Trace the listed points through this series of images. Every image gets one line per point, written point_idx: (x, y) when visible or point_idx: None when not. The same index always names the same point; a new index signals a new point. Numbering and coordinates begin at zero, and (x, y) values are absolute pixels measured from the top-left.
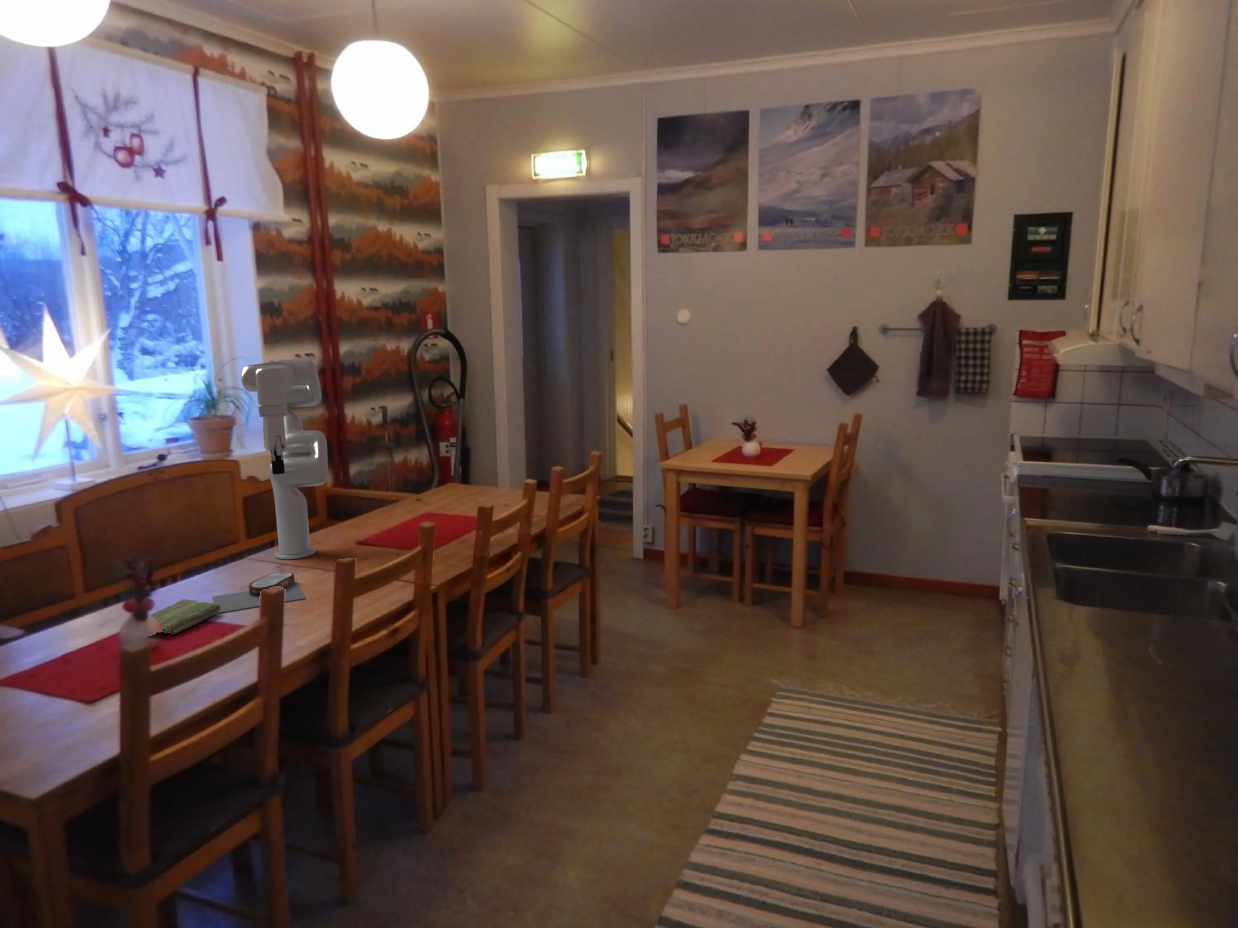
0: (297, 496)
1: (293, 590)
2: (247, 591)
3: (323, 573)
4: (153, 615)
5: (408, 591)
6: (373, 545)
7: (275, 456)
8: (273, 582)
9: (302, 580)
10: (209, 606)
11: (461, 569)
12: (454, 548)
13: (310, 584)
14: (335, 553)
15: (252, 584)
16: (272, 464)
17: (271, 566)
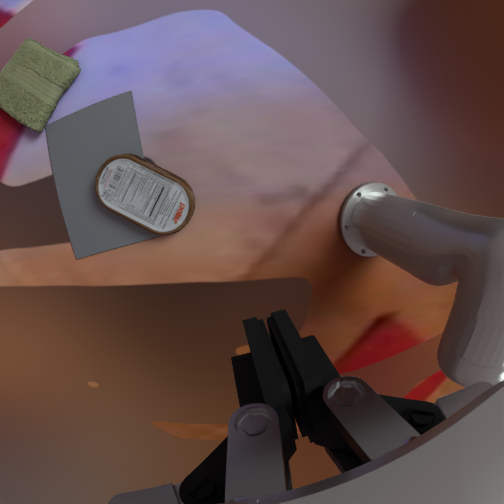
0: (433, 276)
1: (118, 234)
2: (138, 148)
3: (219, 279)
4: (27, 53)
5: (97, 386)
6: (359, 340)
7: (195, 473)
8: (121, 201)
9: (184, 244)
10: (24, 120)
11: (182, 436)
12: None
13: (153, 260)
14: (345, 288)
15: (121, 160)
16: (258, 370)
17: (308, 176)
